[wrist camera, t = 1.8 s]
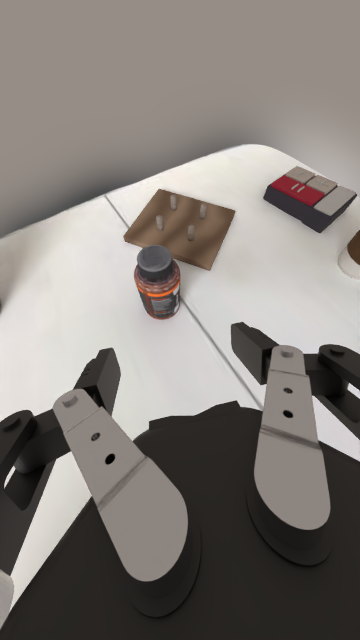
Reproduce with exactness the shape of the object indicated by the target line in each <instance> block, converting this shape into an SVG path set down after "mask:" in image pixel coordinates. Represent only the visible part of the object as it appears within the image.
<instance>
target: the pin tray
mask: <svg viewBox="0 0 360 640" xmlns="http://www.w3.org/2000/svg"><path fill="white" fill-rule="evenodd" d="M234 214H235V210H231V209H228V208H224V207H221V206H217V205H214V204H210V203H207V202H203V201H200V200H196V199H193V198H189V197H186V196H182V195H179V194H175V193H172V192H168V191H165V190H162V189H158V191H157V192H156V193H155V195H154V196H153V197H152V199H151V200H150V201H149V203H148V204H147V205H146V207H145V208H144V209H143V211H142V212H141V213H140V215H139V216H138V217H137V219H136V220H135V221H134V223H133V224H132V225H131V227H130V228H129V229H128V231H127V232H126V233H125V235H124V236H123V237H124V240H125V242H128V243H131V244H134V245H137V246H140V247H143V248H145V247H147V246H150V245H160V246H163V247H166V248H167V249H168V250H169V251H170V253H171V255H172V258H175V259H178V260H181V261H183V262H186V263H189V264H192V265H195V266H198V267H201V268H204V269H207V270H210V269H211V266H212V264H213V262H214V260H215V257H216V255H217V253H218V251H219V248H220V246H221V244H222V242H223V239H224V237H225V235H226V233H227V230H228V228H229V226H230V224H231V221H232V219H233V217H234Z"/></svg>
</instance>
